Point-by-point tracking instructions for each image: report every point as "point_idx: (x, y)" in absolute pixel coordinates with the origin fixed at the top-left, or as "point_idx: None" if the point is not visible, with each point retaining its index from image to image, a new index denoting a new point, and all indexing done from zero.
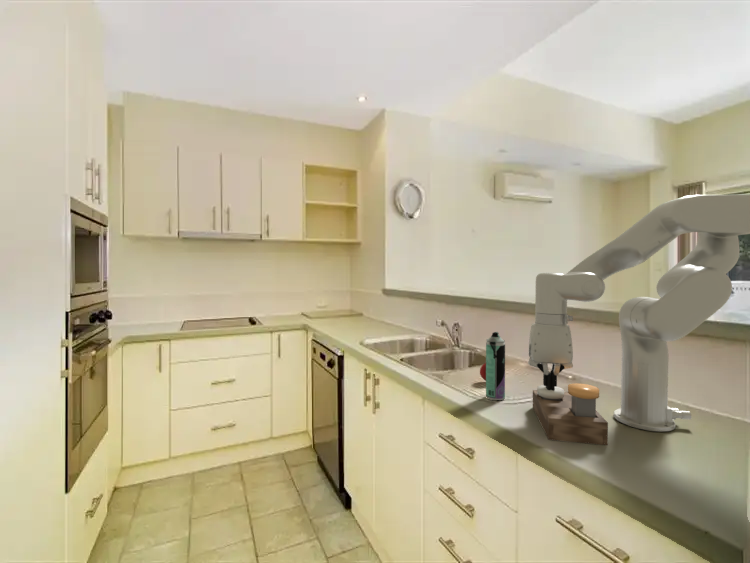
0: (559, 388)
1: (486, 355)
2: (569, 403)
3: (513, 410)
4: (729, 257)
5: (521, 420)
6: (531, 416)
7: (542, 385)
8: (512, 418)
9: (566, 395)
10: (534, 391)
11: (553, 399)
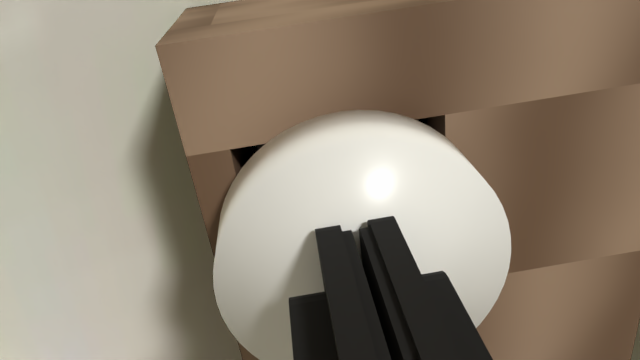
0: (475, 227)
1: None
2: (483, 321)
3: (40, 138)
4: None
5: (137, 294)
6: (193, 207)
7: (278, 184)
8: (74, 286)
9: (525, 115)
10: (182, 100)
11: None
